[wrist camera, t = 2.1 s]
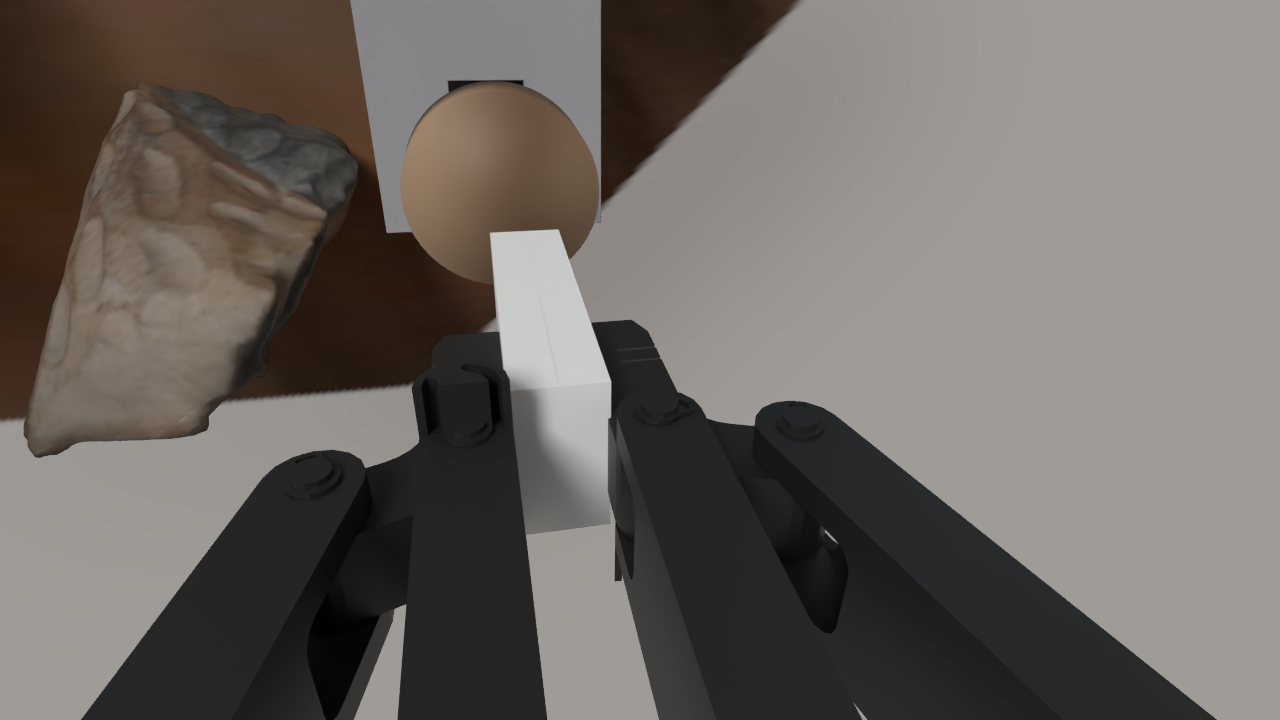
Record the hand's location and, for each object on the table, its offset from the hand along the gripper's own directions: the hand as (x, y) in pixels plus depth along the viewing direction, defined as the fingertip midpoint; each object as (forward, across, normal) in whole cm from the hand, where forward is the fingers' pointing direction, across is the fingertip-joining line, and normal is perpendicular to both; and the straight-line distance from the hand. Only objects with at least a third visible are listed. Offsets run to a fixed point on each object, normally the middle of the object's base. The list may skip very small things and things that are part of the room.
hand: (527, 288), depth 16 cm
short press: (+33, 0, 0) cm, 33 cm away
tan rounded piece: (+23, 0, 0) cm, 23 cm away
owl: (+33, -15, -6) cm, 37 cm away
